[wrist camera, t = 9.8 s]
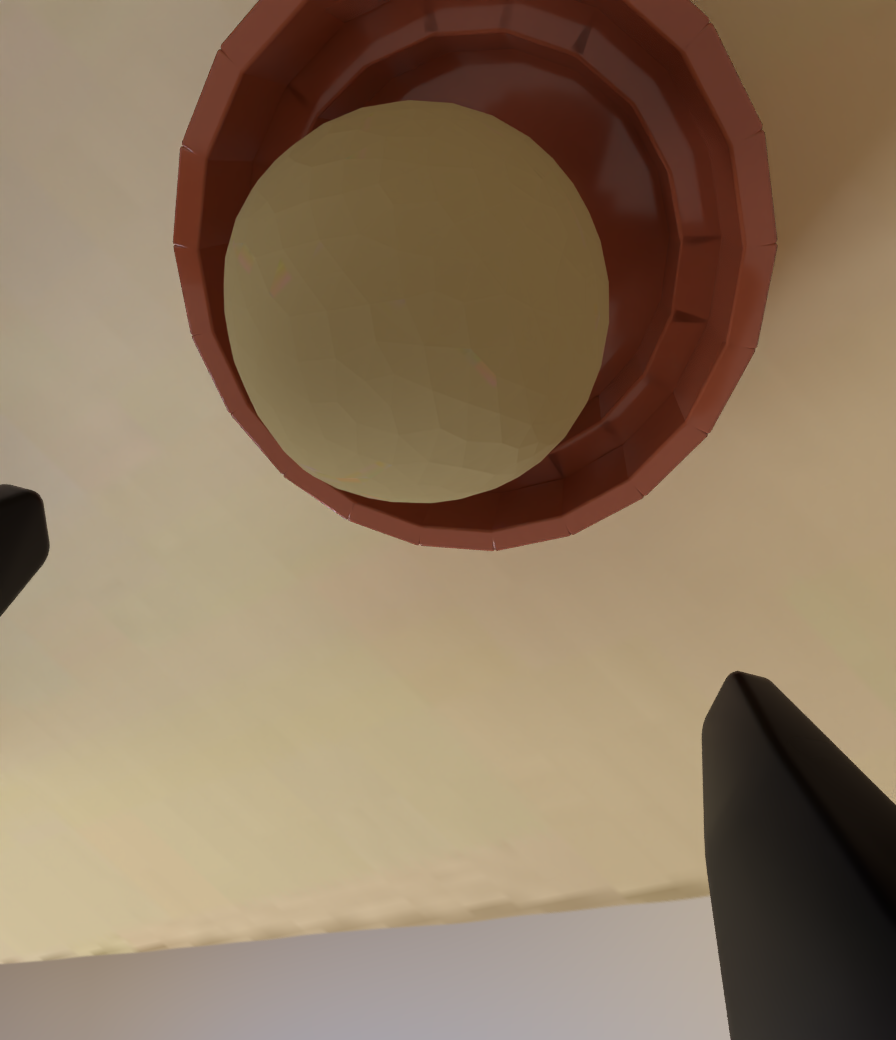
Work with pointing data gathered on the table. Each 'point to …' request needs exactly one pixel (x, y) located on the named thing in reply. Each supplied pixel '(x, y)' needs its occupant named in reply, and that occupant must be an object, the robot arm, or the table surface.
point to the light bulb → (416, 302)
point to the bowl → (588, 164)
